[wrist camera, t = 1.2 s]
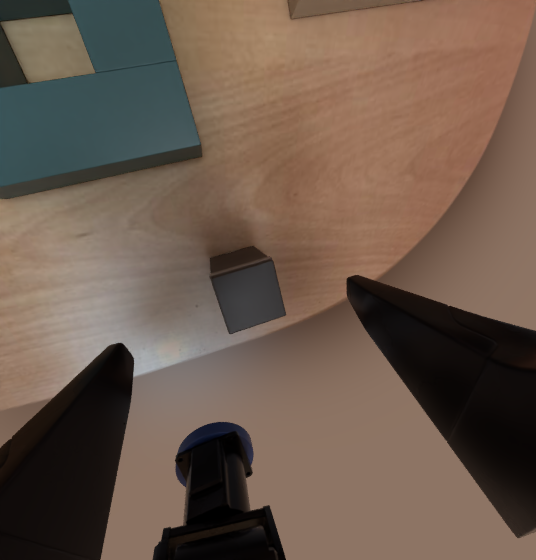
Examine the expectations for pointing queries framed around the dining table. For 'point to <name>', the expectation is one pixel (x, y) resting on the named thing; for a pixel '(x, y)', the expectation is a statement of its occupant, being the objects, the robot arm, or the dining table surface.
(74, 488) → the robot arm
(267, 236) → the dining table surface
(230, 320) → the block
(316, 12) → the electrical outlet
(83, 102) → the teal three-hole plate
